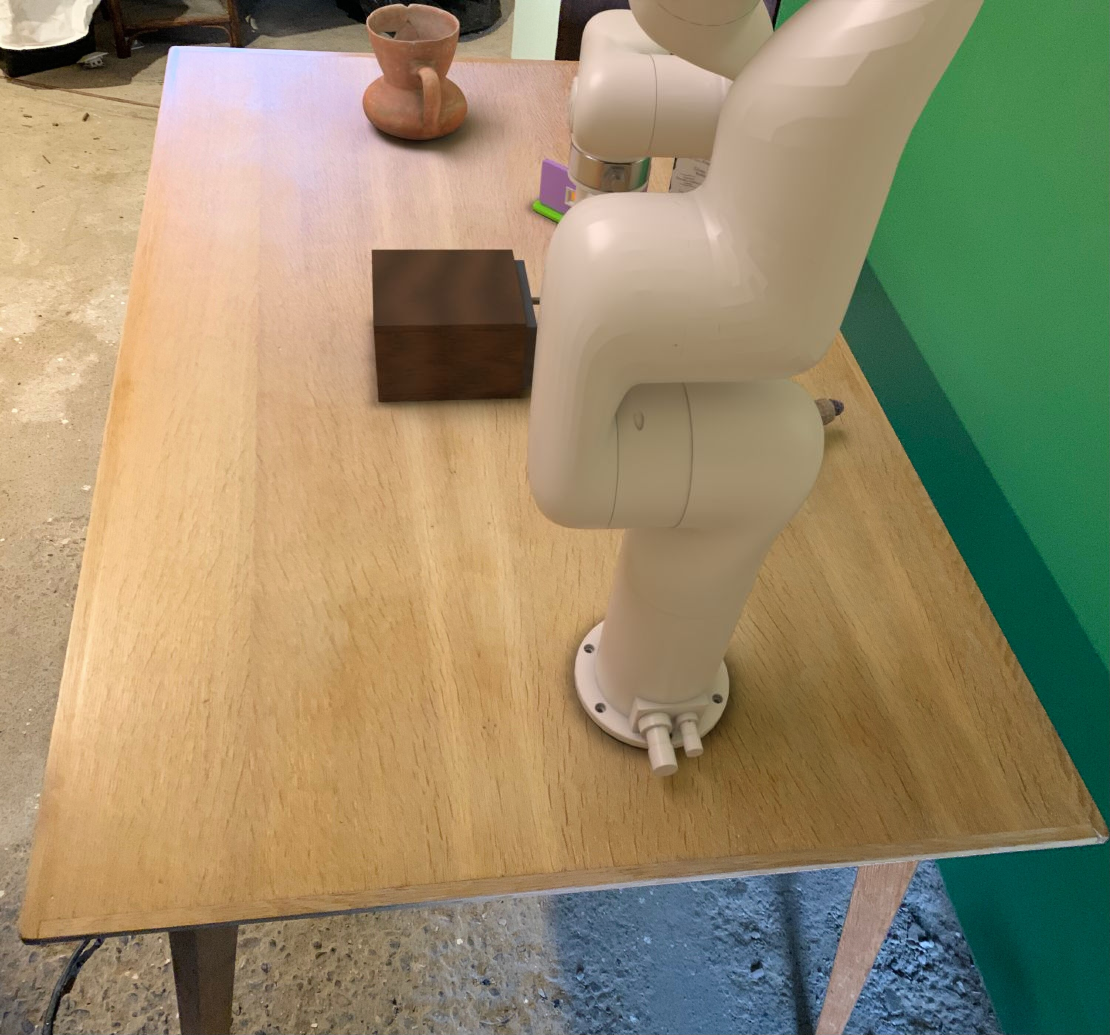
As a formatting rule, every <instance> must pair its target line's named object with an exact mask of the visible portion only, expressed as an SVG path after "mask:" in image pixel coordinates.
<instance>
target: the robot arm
mask: <svg viewBox="0 0 1110 1035" xmlns="http://www.w3.org/2000/svg"><path fill="white" fill-rule="evenodd" d="M984 2H985V0H808V1H807V2H806V3H805V4H804V5H802V6H801V7H800V8H799V9H797V10H796V11H794V13H793V14H792V15H791V16H789V17H788V19H786V20H785V21H784V22H783V23H782V24H781V25H780V26H779V27H778V28H777V29H776V30H775V31H774V28H773V27H774V26H773V23H772V19H771V17H770V13H769V11H768V8H767V6H766V4H765V2H764V0H628V5H629V8H630V9H623V8H620V9H619V8H618V9H617V8H616V9H608V10H604V11H600V12H598V13H596V14H595V15H593V16H592V17H591V18H590V19H589V20H588V21H587V23H586V24H585V27H584V29H583V31H582V37H581V44H580V53H579V61H578V68H577V74H576V75H575V76H574V77H573V79H572V82H571V84H570V89H569V94H568V100H567V126H568V130H569V133H570V134H571V136H570V137H571V138H570V144H569V145H570V146H569V154H568V164H567V168H568V177H569V179H570V181H571V182H573V184H574V185H575V186H576V192H575V200H574V206H573V207H572V208H570V209H569V210H568V211H567V212H566V213H565V215H564V216H563V217H562V219H561V220H560V222H559V223H558V222H557V226H556V227H555V230H554V231H553V233H552V236H551V239H550V242H549V244H548V247H547V251H546V256H545V260H544V267H543V272H542V281H541V287H540V295H539V297H540V304H539V305H538V316H537V337H536V348H535V358H534V369H533V380H532V387H531V393H530V394H531V395H530V406H529V414H528V416H529V417H528V425H527V426H528V428H527V443H526V445H527V446H526V468H527V469H526V470H527V478H528V485H529V489H530V490H529V491H530V493H531V496H532V500H533V501H534V503H535V505H536V508H537V509H538V510H539V512H540V513H541V514H542V515H543V516H544V518H546V519H547V520H549V521H550V522H551V523H553V524H555V525H556V526H557V525H558V526H561V527H562V528H566V529H573V530H593V531H595V530H624V532H623V536H622V539H621V544H620V547H619V553H618V556H617V560H616V566H615V570H614V573H613V574H614V575H613V579H612V584H611V588H610V592H609V597H608V601H607V606H606V610H605V615H604V619H603V620H602V621H601V622H599V623H597V625H595V626H594V627H592V629H591V630H590V631H589V632H588V633H587V634H586V635H585V637H584V638H583V640H582V642H581V643H580V645H579V647H578V650H577V653H576V657H575V662H574V669H573V677H574V681H573V682H574V687H575V691H576V695H577V698H578V700H579V703H580V704H581V706H582V707H583V709H584V711H585V712H586V714H587V715H588V716H589V717H590V719H591V720H592V721H593V722H594V723H595V724H596V725H597V726H598V727H599V728H600V729H602V731H603V732H605V733H606V734H608V735H610V736H612V738H615V739H616V740H618V741H621V742H622V743H625V744H628V745H630V746H633V747H637V748H641V749H646V750H647V754H648V759H649V763H650V767H651V772H652V774H653V776H655V777H668V776H672V775H673V774H676V773H677V772H678V770H679V766H678V761H677V757H676V752H675V749H678V748H682V747H683V749H684V753H685V756H686V757H687V758H697V757H699V756H701V755H703V753H704V747H703V743H702V740H701V739H702V738H703V737H705V736H706V735H707V734H709V732H711V731H712V729H714V727H716V724H717V723H718V722H719V720H720V719H721V718H722V716H723V712H724V710H725V708H726V706H727V703H728V698H729V694H730V678H729V674H728V668H727V665H726V663H725V661H724V658H725V656H726V653H727V651H728V648H729V645H730V643H731V642H732V641H731V640H732V638H733V636H734V634H735V631H736V628H737V627H738V624H739V621H740V619H741V616H742V614H743V611H744V609H745V606H746V605H747V602H748V599H749V597H750V595H751V592H752V591H753V589H754V586H755V583H756V582H757V579H758V577H759V574H760V572H761V570H762V567H763V565H764V563H765V561H766V558H767V556H768V555H769V554H770V551H771V549H772V548H773V546H774V544H775V543H776V541H777V539H778V538H779V537H780V536H781V534H782V533H783V532H784V531H785V529H786V528H787V527H788V526H789V524H790V523H791V522H792V521H793V519H794V518H795V517H796V516H797V514H798V513H799V512H800V510H801V509H802V507H803V506H804V505H805V503H806V501H807V500H808V498H809V496H810V494H811V492H812V491H813V489H814V486H815V484H816V482H817V480H818V477H819V475H820V471H821V468H822V464H823V459H824V455H825V454H824V452H825V428H824V427H825V426H823V422H822V418H821V415H820V412H819V410H818V408H817V406H816V404H815V402H814V401H815V400H814V399H813V397H812V395H810V393H809V392H808V391H807V389H806V388H804V387H803V385H801V384H800V383H798V382H797V381H795V380H793V379H791V378H793V377H797V376H800V375H802V374H805V373H806V372H809V371H810V370H812V369H813V368H815V367H816V366H817V365H819V363H820V362H821V361H822V360H823V359H824V358H825V356H827V354H828V352H829V350H830V348H831V347H832V345H833V344H834V342H835V340H836V337H837V335H838V333H839V332H840V329H841V326H842V324H843V322H844V318H845V316H846V313H847V312H848V309H849V306H850V303H851V299H852V297H853V295H854V292H855V289H856V287H857V286H856V285H857V283H858V280H859V277H860V274H861V272H862V269H863V266H864V263H865V260H866V257H867V256H868V252H869V249H870V248H871V247H870V246H871V243H872V240H873V239H874V236H875V232H876V230H877V226H878V224H879V222H880V218H881V216H882V212H883V210H884V207H885V204H886V201H887V199H888V195H889V193H890V191H891V187H892V184H893V181H894V178H895V174H896V172H897V168H898V165H899V163H900V160H901V157H902V155H903V153H904V151H905V147H906V145H907V143H908V141H909V139H910V136H911V133H912V132H913V129H914V127H915V125H916V123H917V122H918V120H919V118H920V116H921V114H922V113H923V111H924V108H926V107H925V106H926V105H927V103H928V101H929V100H930V98H931V96H932V94H933V92H934V91H935V89H936V87H937V86H938V83H939V82H940V80H941V79H942V77H943V76H944V74H945V72H946V71H947V69H948V67H949V66H950V64H951V62H952V61H953V59H954V57H955V55H956V53H957V52H958V50H959V48H960V47H961V45H962V43H963V42H964V40H965V38H966V37H967V35H968V33H969V31H970V29H971V27H972V25H973V24H974V22H975V20H976V18H977V16H978V14H979V12H980V10H981V8H982V6H983V3H984ZM653 158H665V159H667V158H668V159H669V158H671V159H675V158H697V159H709V158H711V161H710V165H709V169H708V172H707V175H706V178H705V180H704V181H703V183H702V184H701V185H700V186H699V187H698V188H696V189H695V190H692V191H690V192H687V193H668V192H648V191H647V192H641V191H642V190H644V189H645V187H646V186H647V183H648V178H649V172H650V167H651V168H652V160H653ZM650 173H651V172H650ZM649 179H650V178H649ZM648 184H649V183H648Z"/></svg>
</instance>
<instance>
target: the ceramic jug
mask: <svg viewBox="0 0 1110 1035" xmlns="http://www.w3.org/2000/svg"><path fill="white" fill-rule="evenodd" d="M365 24H366V30H367V35H368V39H369V42H370V45H371V48H372V51H373V53H374V55H375V56H374V57H375V59H376V61H377V63H378V66H379V68H380V69H381V72H382V75H381V76H379V77H377V78H376V79H374V80H373V81H371V83H369V85H367V87H366V89H365V90H364V93H363V96H362V104H361V105H362V109H363V112H364V115H365V116H366V118H367V120H368V121H369V122H370V124H372V125H373V126H374V127H375V128H377V129H379V131H382V132H383V133H386V134H388V135H391V136H393V137H397V138H400V139H406V140H412V141H413V140H415V141H416V140H417V141H425V140H432V139H433V140H434V139H437V138H438V139H439V138H441V137H444V136H448V135H449V134H451V133H453V132H454V131H456V130H457V129H459V128H460V126H462V124H463V122H464V121H465V119H466V116H467V112H468V102H467V99H466V96H465V94H464V92H463V91H462V89H461V88H460V87H459V86H458V85H457V84H456V83H455V82H454V81H452V80H451V79H449V78H448V77H447V75H448V73H449V70H450V68H451V66H452V63H453V60H454V57H455V54H456V51H457V46H458V42H459V36H460V29H461V28H460V26H461V25H460V20H459V19H458V18H457V17H456V16H455V15H453V14H451V12H449V11H446V10H443V9H441V8H438V7H436V6H431V5H427V4H420V3H419V4H418V3H410V4H409V5H408V6H406V5H405V4H402V3H396V4H389V5H385V6H382V7H379V8H377V9H375V10H373V11H372V12H371V13H370V15H368V17H367V18H366V23H365ZM386 32H387V33H393V32H395V34H394V36H393V38H387V37H384V36H382V35H381V34H383V33H386Z"/></svg>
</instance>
